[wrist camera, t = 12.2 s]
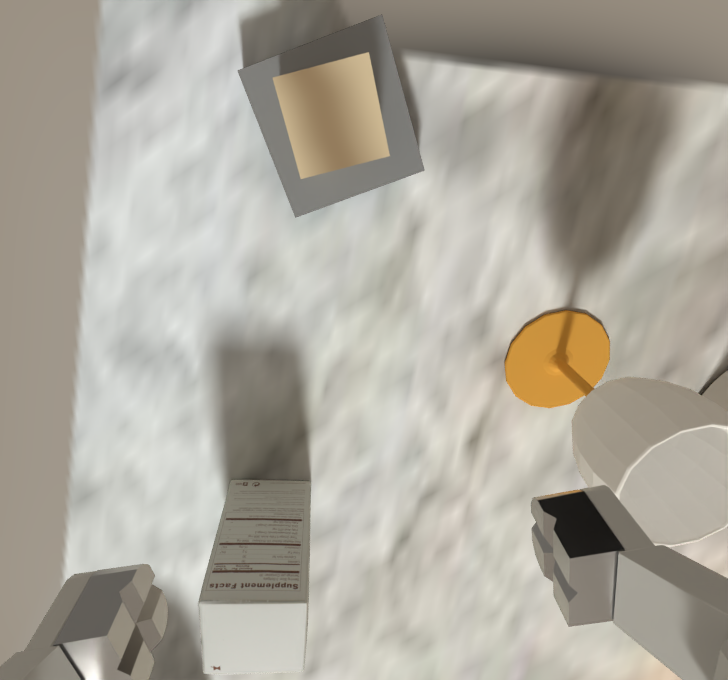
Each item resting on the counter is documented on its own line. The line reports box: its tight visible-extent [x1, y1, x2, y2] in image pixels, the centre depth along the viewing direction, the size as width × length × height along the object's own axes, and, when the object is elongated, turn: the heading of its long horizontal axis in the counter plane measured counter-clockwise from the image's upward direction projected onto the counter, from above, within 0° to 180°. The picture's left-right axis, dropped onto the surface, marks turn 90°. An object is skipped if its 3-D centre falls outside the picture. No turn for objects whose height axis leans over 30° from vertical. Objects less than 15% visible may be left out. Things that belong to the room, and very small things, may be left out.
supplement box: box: [198, 480, 311, 674], centre depth 38 cm, size 7×7×13 cm
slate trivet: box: [238, 15, 424, 218], centre depth 31 cm, size 9×9×3 cm
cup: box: [505, 310, 728, 547], centre depth 33 cm, size 9×9×16 cm
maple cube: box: [273, 52, 390, 179], centre depth 27 cm, size 5×5×5 cm
